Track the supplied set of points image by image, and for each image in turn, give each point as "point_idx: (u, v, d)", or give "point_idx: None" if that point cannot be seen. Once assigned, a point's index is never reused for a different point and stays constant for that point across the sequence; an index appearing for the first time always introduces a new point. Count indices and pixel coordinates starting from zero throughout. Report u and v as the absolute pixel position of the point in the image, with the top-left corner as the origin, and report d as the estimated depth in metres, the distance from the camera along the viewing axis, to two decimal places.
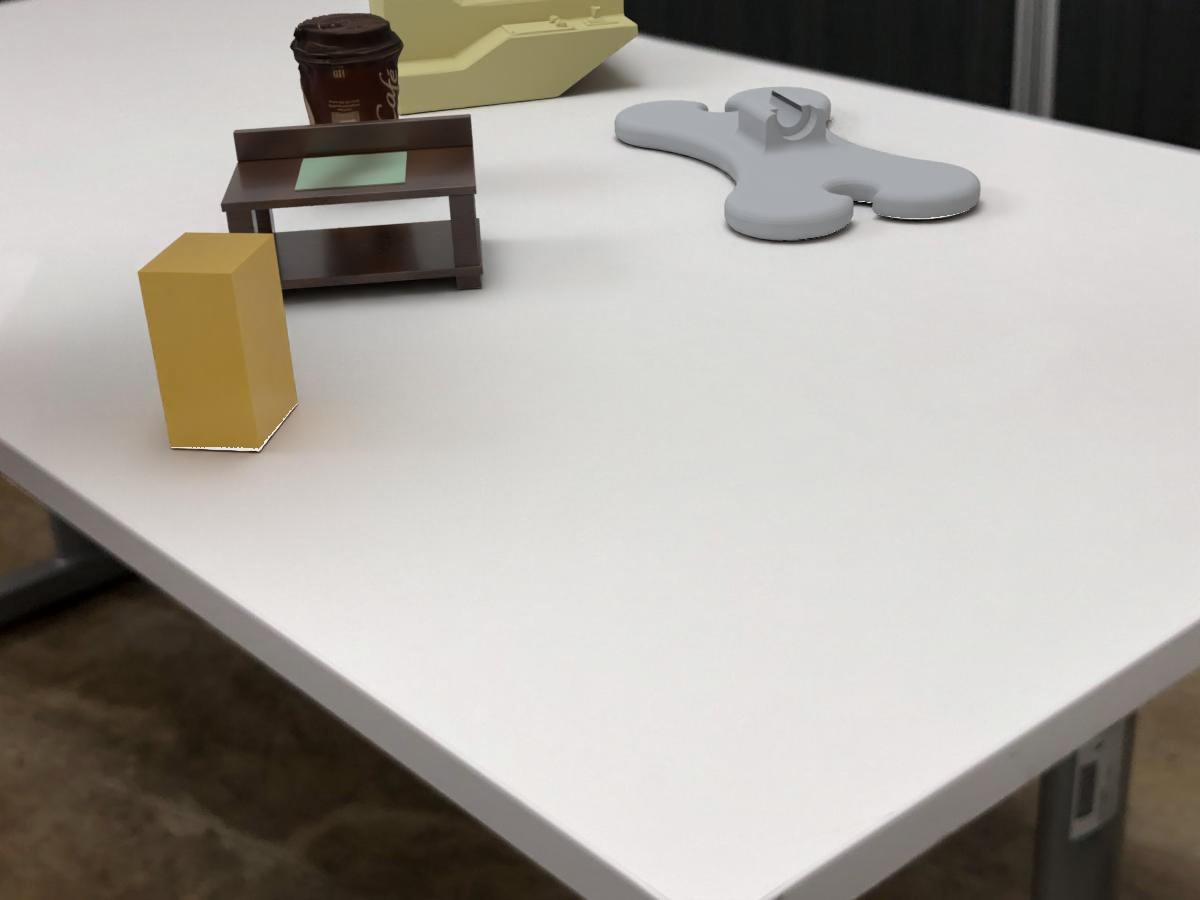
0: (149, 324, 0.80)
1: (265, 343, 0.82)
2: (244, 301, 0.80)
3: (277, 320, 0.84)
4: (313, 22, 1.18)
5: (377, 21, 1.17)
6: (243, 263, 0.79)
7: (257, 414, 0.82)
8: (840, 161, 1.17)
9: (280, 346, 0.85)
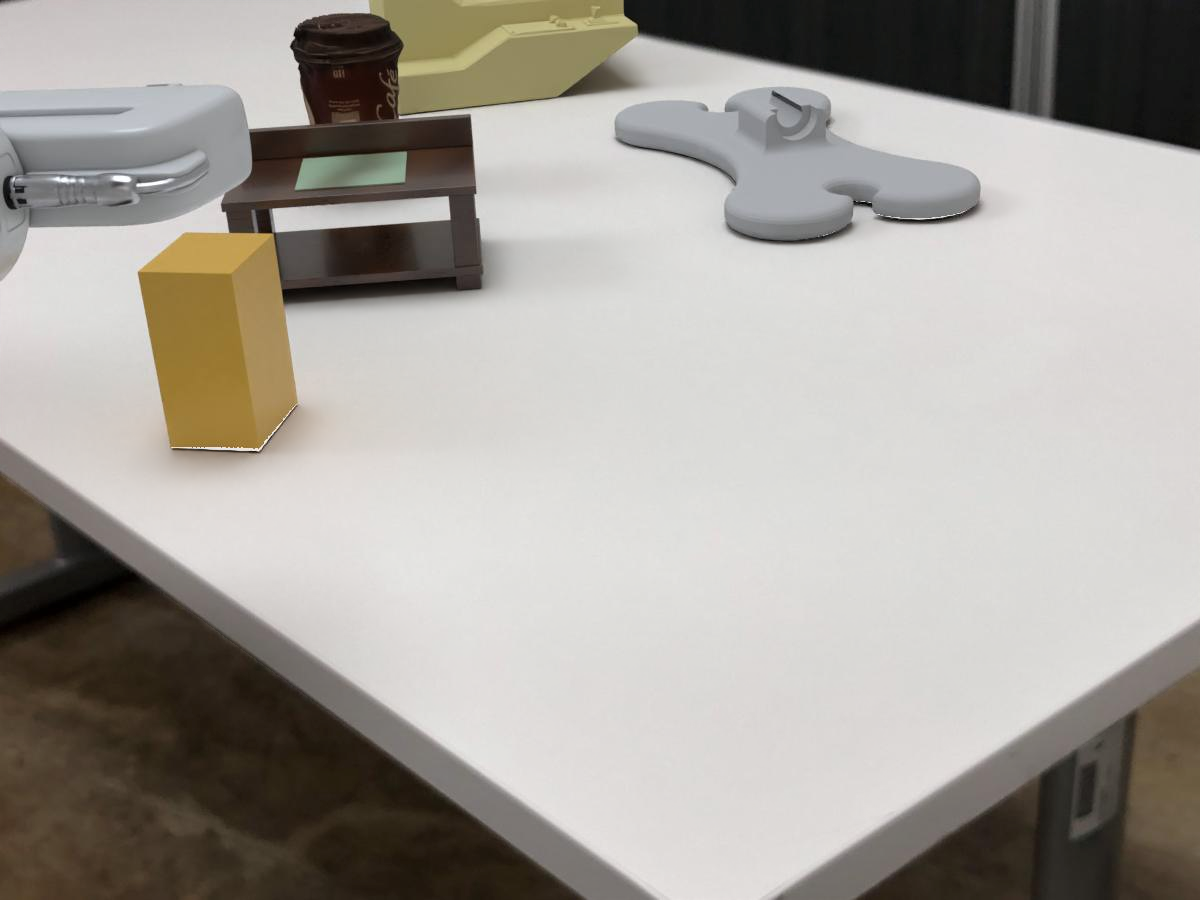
0: (149, 324, 0.80)
1: (265, 343, 0.82)
2: (244, 301, 0.80)
3: (277, 320, 0.84)
4: (313, 22, 1.18)
5: (377, 21, 1.17)
6: (243, 263, 0.79)
7: (257, 414, 0.82)
8: (840, 161, 1.17)
9: (280, 346, 0.85)
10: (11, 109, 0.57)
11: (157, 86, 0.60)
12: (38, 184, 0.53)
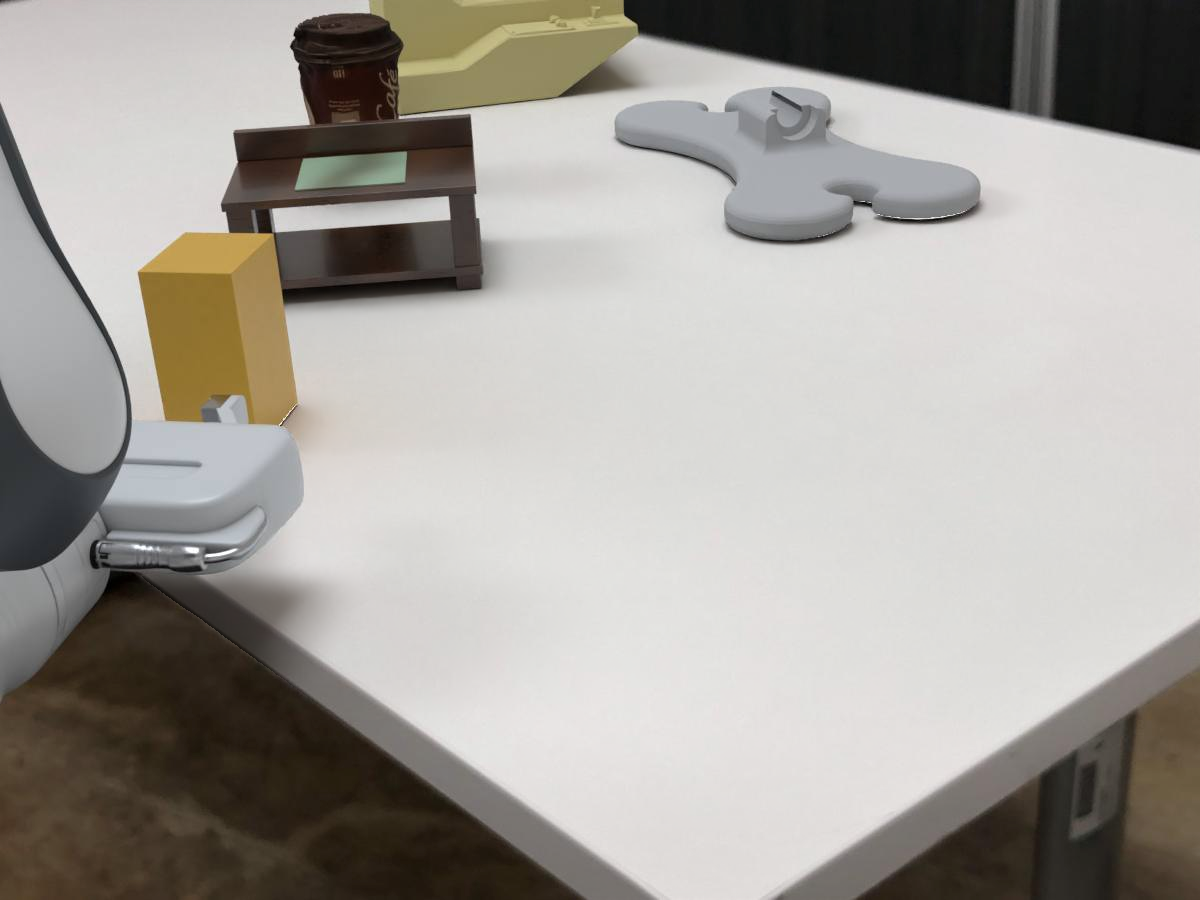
0: (149, 324, 0.80)
1: (265, 343, 0.82)
2: (244, 301, 0.80)
3: (277, 320, 0.84)
4: (313, 22, 1.18)
5: (377, 21, 1.17)
6: (243, 263, 0.79)
7: (257, 414, 0.82)
8: (840, 161, 1.17)
9: (280, 346, 0.85)
10: None
11: (222, 425, 0.67)
12: (120, 552, 0.61)
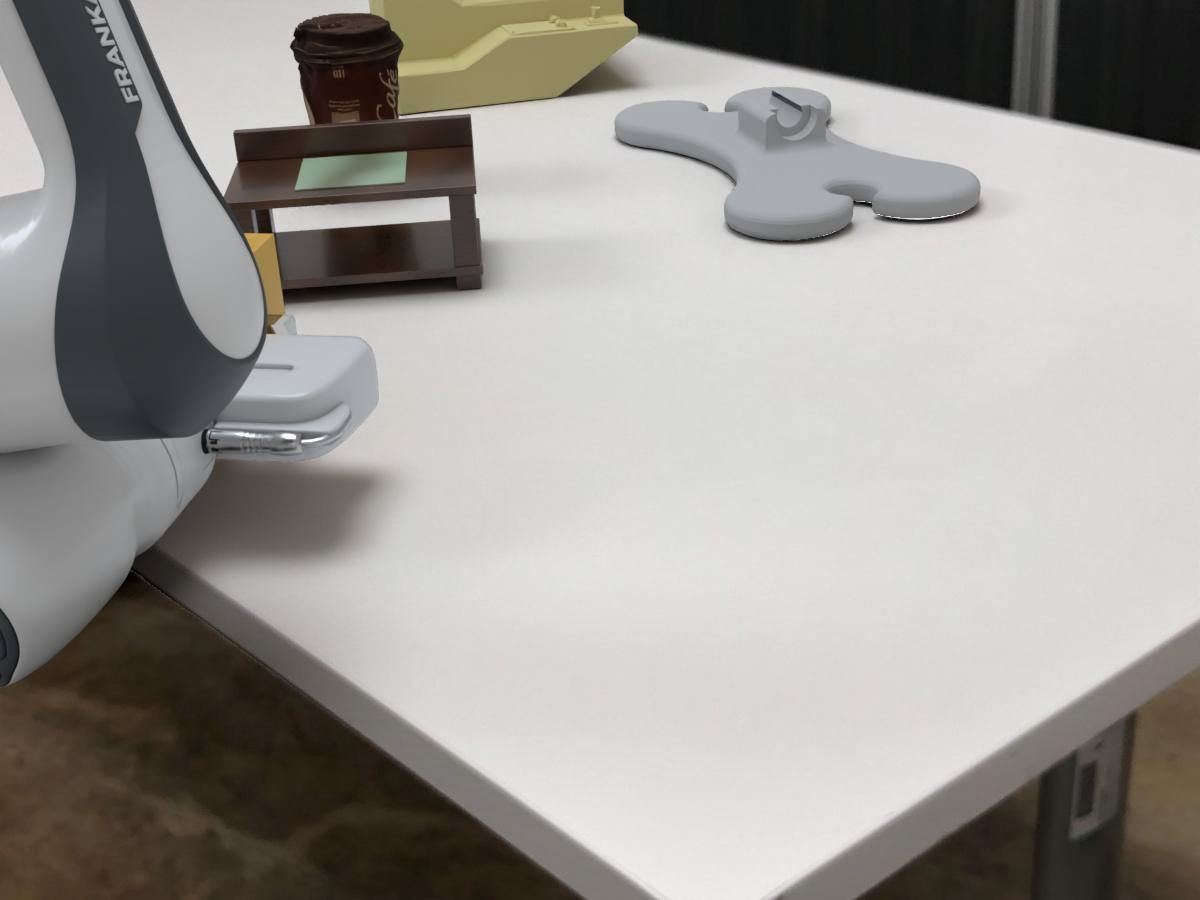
0: None
1: None
2: None
3: None
4: (313, 22, 1.18)
5: (377, 21, 1.17)
6: None
7: None
8: (840, 161, 1.17)
9: None
10: None
11: (307, 336, 0.77)
12: (227, 438, 0.71)
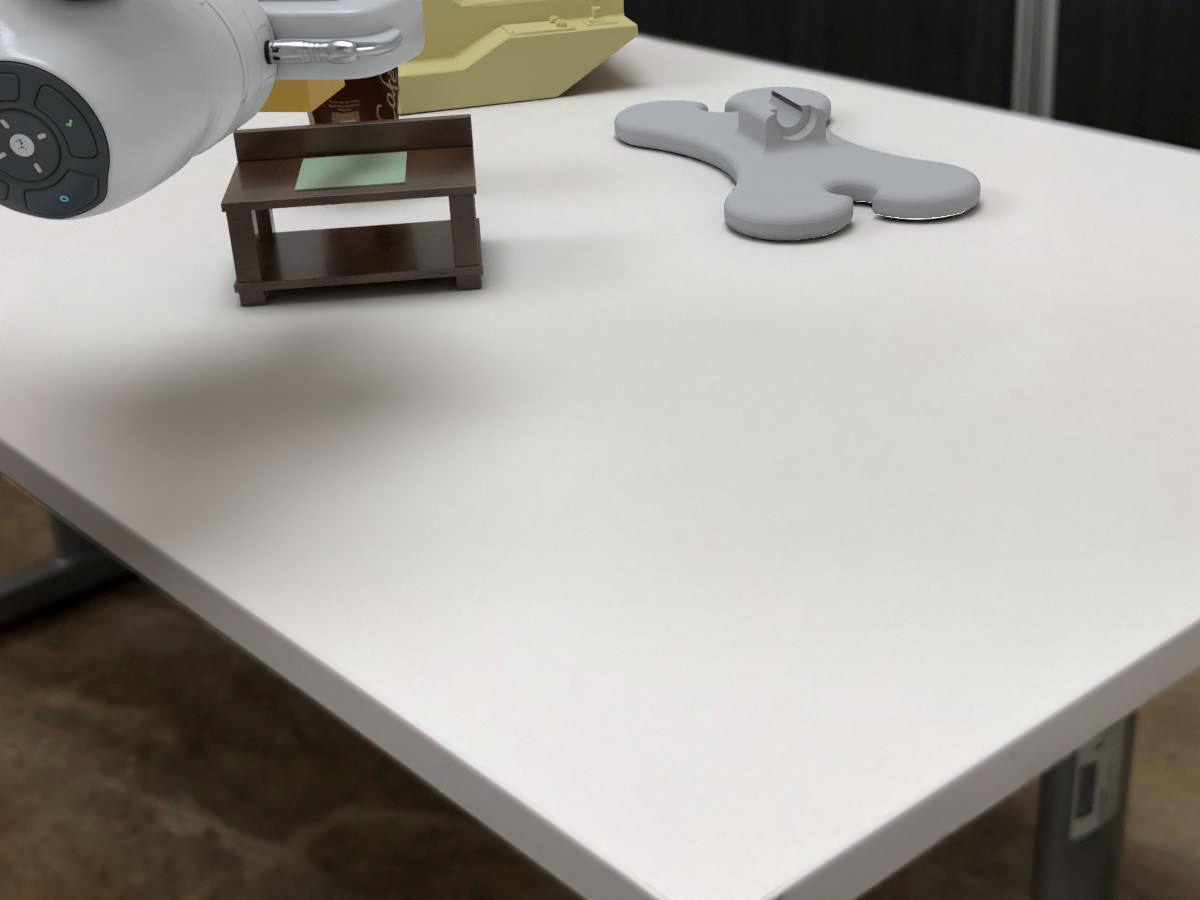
0: None
1: None
2: None
3: None
4: None
5: None
6: None
7: None
8: (840, 161, 1.17)
9: None
10: None
11: None
12: (288, 46, 0.76)
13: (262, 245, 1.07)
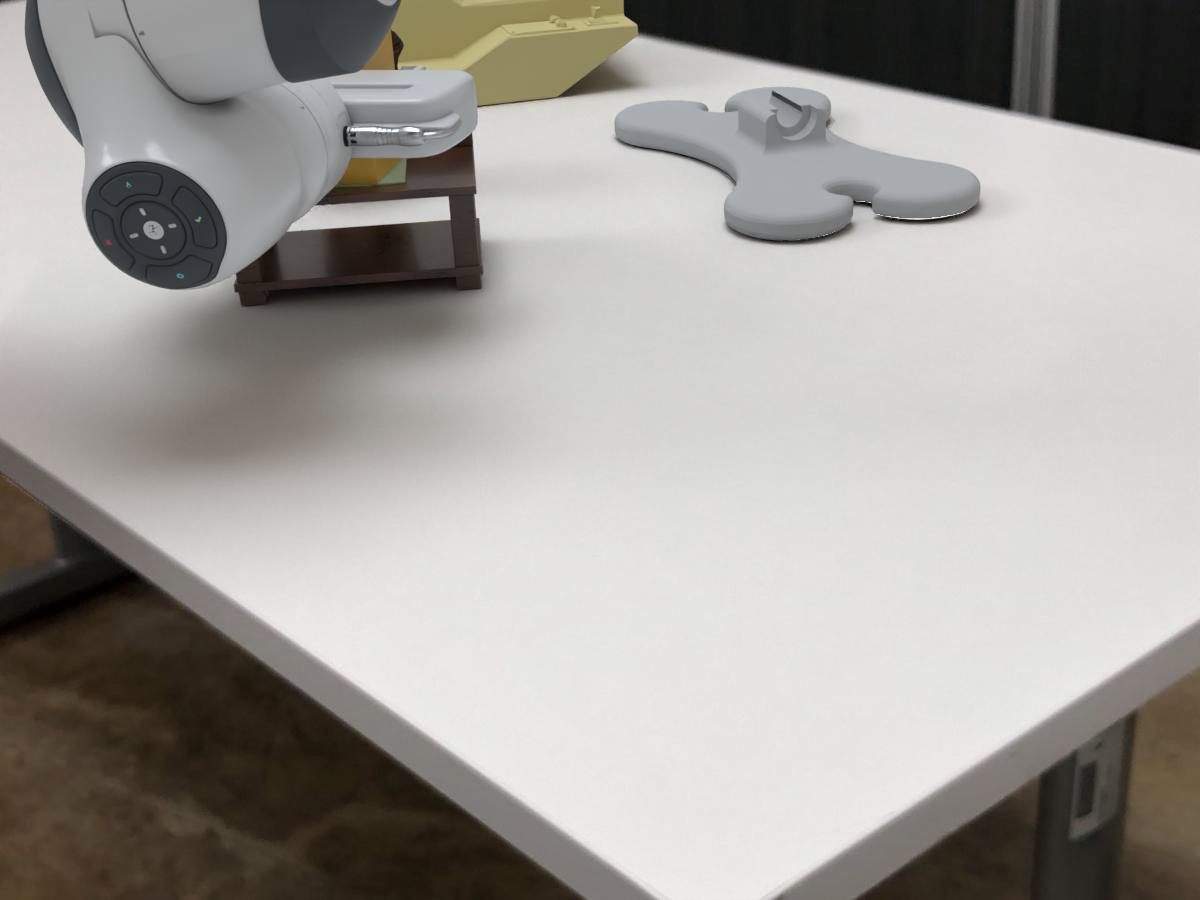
0: None
1: None
2: None
3: None
4: None
5: None
6: None
7: None
8: (840, 161, 1.17)
9: None
10: (334, 83, 0.93)
11: (420, 70, 0.95)
12: (364, 131, 0.88)
13: None
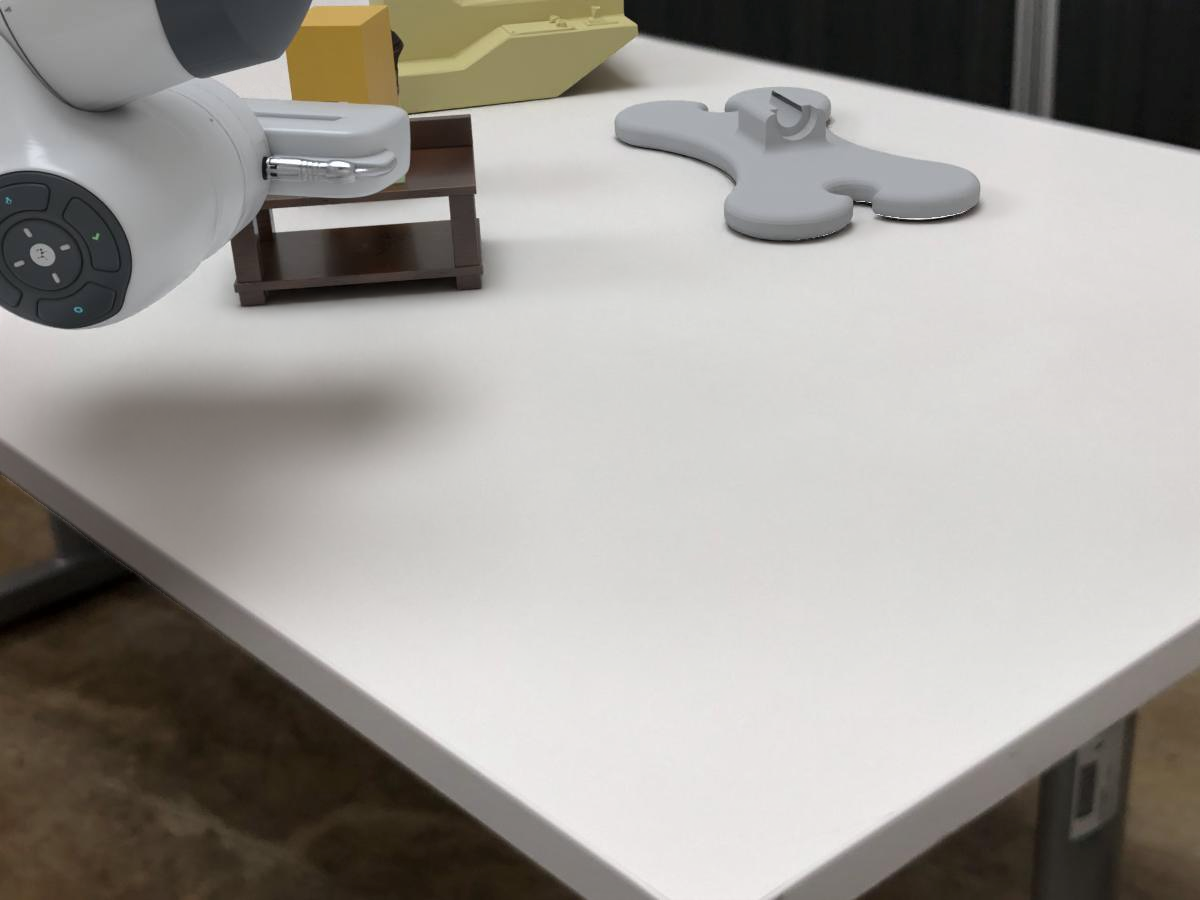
0: (290, 72, 0.97)
1: (381, 94, 1.00)
2: (368, 52, 0.97)
3: (390, 79, 1.02)
4: None
5: None
6: (367, 20, 0.97)
7: None
8: (840, 161, 1.17)
9: (392, 102, 1.02)
10: None
11: (347, 103, 0.84)
12: (287, 164, 0.77)
13: (262, 245, 1.07)
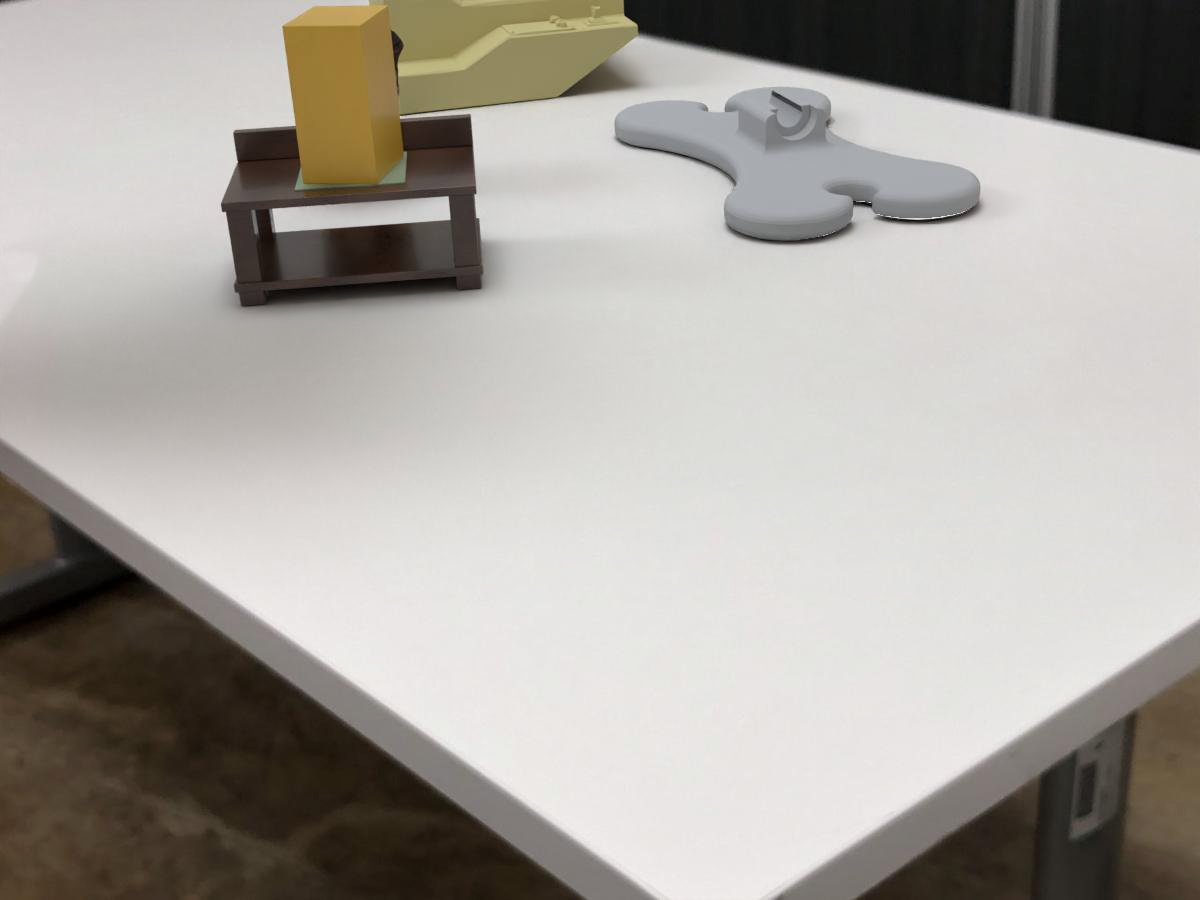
0: (290, 72, 0.97)
1: (381, 94, 1.00)
2: (368, 52, 0.97)
3: (390, 79, 1.02)
4: None
5: None
6: (367, 20, 0.97)
7: (376, 150, 0.99)
8: (840, 161, 1.17)
9: (392, 102, 1.02)
10: None
11: None
12: None
13: (262, 245, 1.07)
